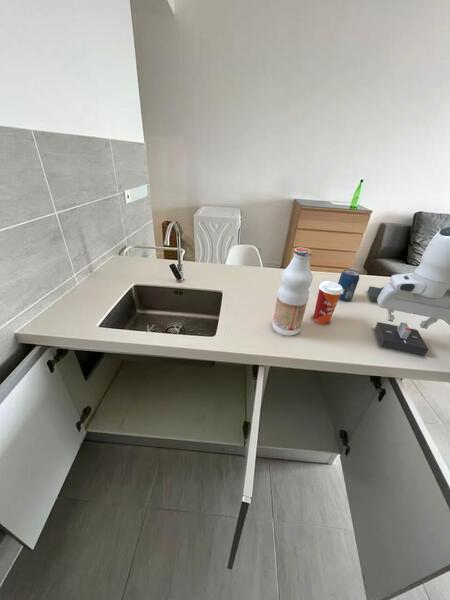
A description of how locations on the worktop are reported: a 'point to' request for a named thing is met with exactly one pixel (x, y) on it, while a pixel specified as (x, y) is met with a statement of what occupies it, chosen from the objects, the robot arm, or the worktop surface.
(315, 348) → the worktop surface
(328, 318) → the paper cup
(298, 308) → the fruit juice
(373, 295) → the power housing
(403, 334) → the timer knob
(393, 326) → the timer panel
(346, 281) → the soda can
